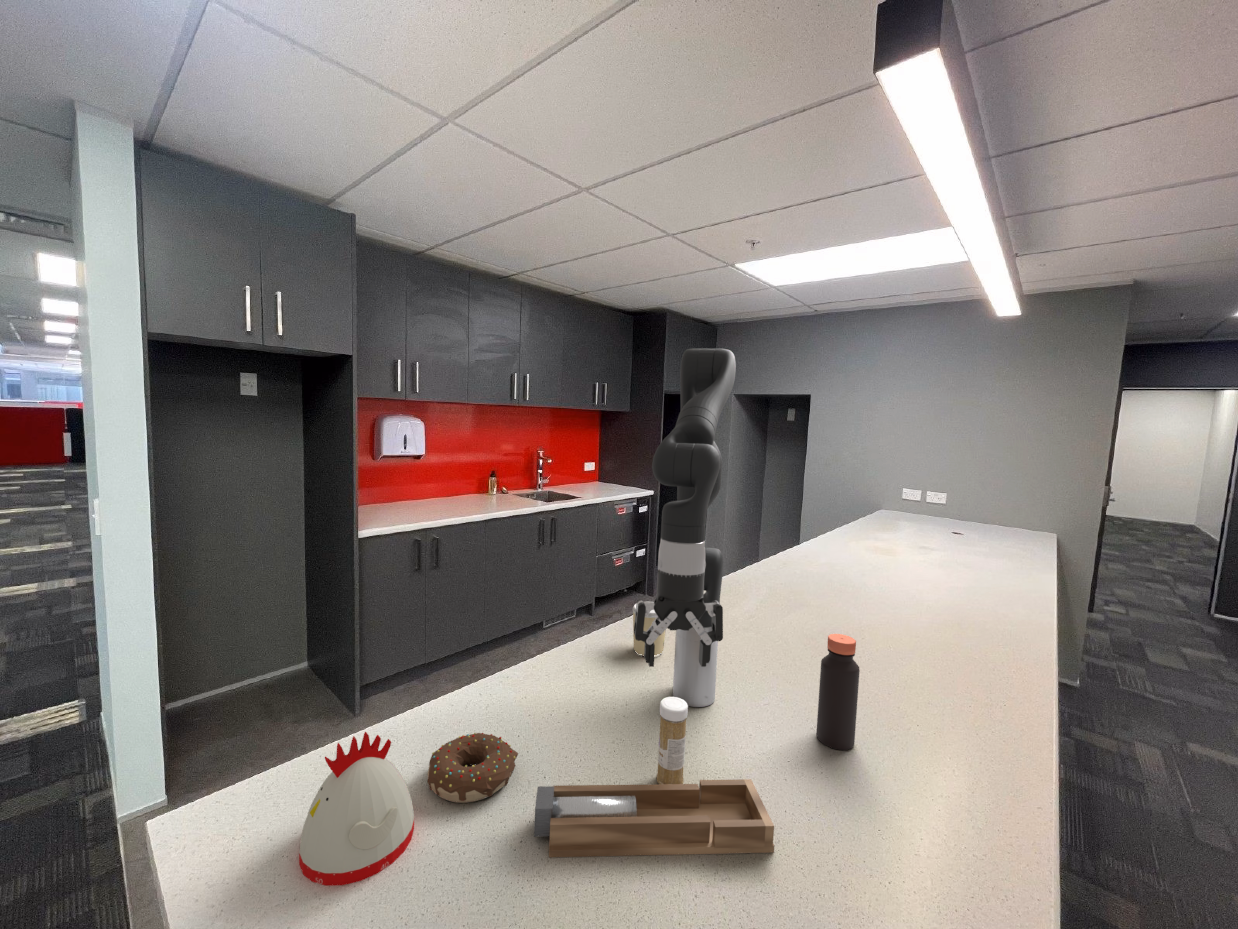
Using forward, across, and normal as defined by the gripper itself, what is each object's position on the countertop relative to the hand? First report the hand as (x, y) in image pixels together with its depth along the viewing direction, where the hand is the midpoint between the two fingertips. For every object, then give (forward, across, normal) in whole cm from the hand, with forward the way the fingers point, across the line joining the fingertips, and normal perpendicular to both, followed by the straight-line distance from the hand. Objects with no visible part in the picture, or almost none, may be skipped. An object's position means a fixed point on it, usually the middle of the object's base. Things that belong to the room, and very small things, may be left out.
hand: (676, 664), depth 82 cm
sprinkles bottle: (+20, 0, 0) cm, 20 cm away
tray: (+20, +4, +10) cm, 23 cm away
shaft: (+19, +14, +10) cm, 26 cm away
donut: (+20, +32, -1) cm, 38 cm away
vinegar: (+20, -34, -11) cm, 41 cm away
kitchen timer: (+20, +45, +11) cm, 51 cm away
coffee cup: (+20, -3, -50) cm, 54 cm away
